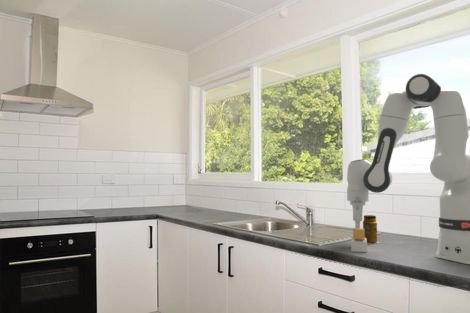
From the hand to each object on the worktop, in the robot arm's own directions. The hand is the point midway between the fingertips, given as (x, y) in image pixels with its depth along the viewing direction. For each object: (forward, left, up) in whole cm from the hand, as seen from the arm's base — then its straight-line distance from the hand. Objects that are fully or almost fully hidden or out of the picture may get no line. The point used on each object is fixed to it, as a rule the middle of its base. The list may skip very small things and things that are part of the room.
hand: (357, 229), depth 161 cm
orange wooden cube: (-6, +4, -3) cm, 8 cm away
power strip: (-6, +4, -7) cm, 10 cm away
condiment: (+7, -10, -8) cm, 14 cm away
